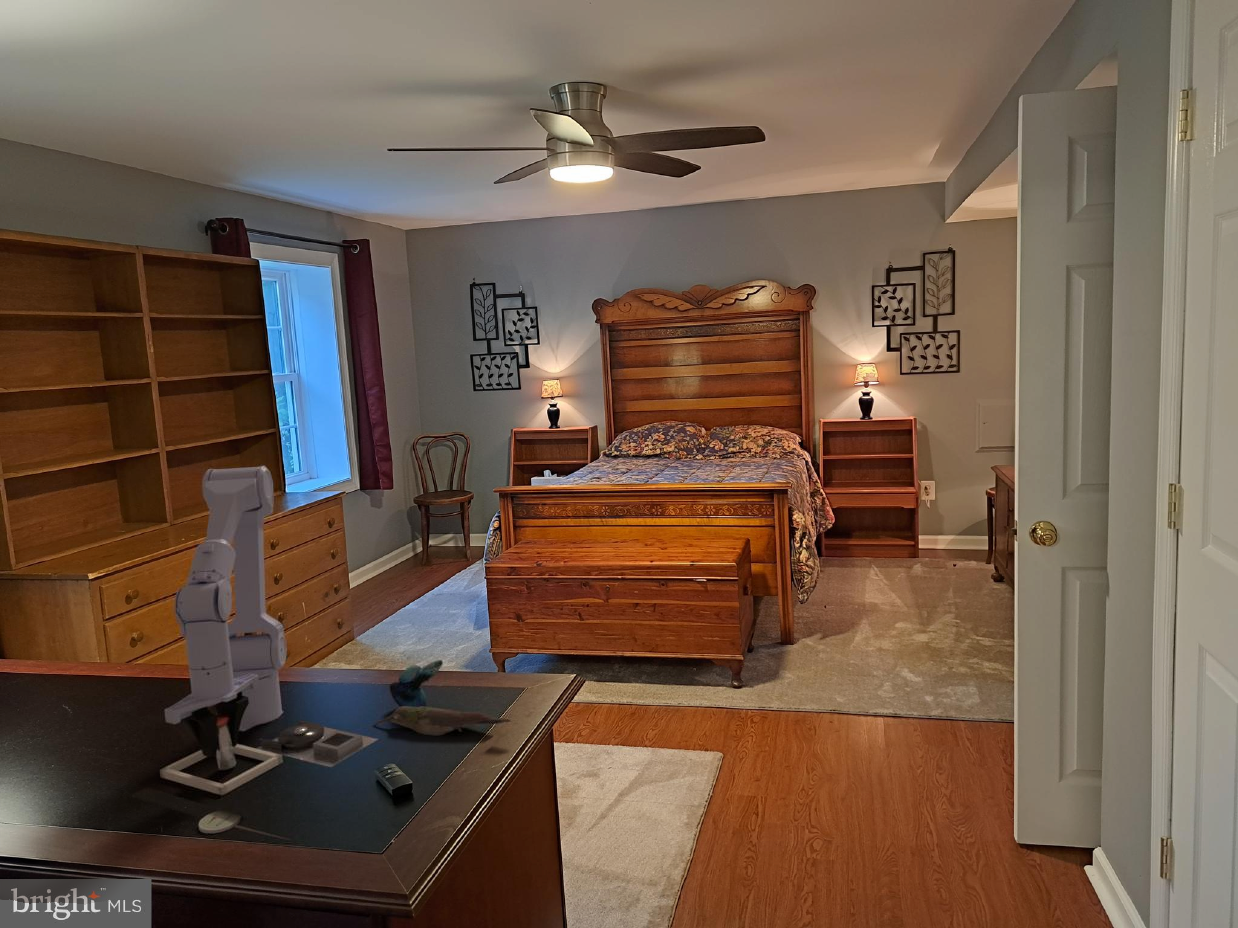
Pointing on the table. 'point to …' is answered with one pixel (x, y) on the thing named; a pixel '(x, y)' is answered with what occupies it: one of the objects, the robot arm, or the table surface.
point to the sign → (224, 823)
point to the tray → (221, 789)
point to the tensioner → (316, 743)
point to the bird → (437, 719)
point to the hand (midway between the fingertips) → (220, 750)
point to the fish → (413, 684)
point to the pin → (224, 742)
